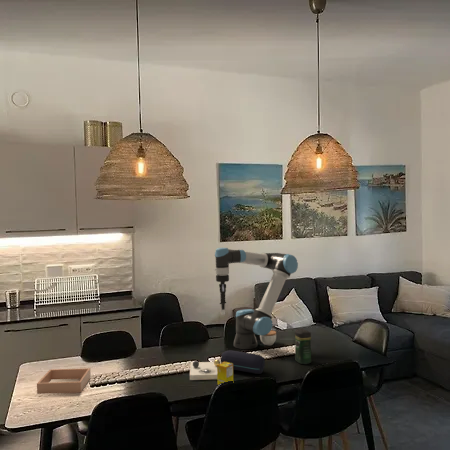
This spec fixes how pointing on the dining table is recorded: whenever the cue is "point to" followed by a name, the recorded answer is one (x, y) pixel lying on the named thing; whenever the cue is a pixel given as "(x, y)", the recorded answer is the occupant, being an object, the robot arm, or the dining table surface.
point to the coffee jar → (303, 346)
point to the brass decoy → (216, 362)
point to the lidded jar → (268, 338)
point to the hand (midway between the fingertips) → (223, 314)
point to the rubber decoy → (195, 363)
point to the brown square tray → (63, 387)
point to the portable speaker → (244, 361)
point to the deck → (199, 374)
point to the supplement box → (224, 372)
